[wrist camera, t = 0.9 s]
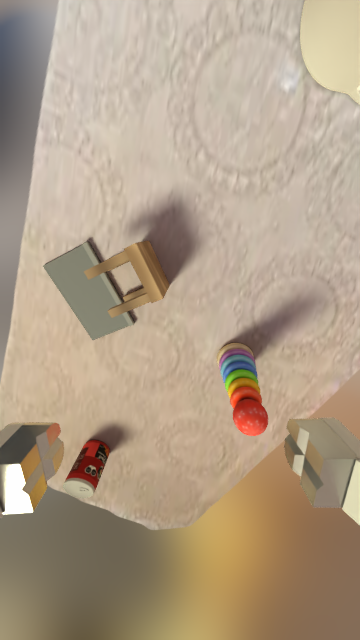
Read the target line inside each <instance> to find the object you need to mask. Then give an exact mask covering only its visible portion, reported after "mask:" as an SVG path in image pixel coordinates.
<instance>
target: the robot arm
mask: <svg viewBox="0 0 360 640" xmlns="http://www.w3.org/2000/svg"><path fill="white" fill-rule="evenodd" d="M300 42H301V50H302V55H303V59H304V62H305V65H306V67H307V69H308V71H309V73H310V74H311V76H312V77H313V78H314V79H315V80H316V81H317V82H318V83H319V84H320V85H321V86H323V87H325V88H327V89H329V90H332V91H337V92H342V93H346V94H348V95H349V96H350V97H351V98H352V99H353V100H354V101H355V102H357V103H358V104H359V105H360V0H305V2H304V6H303V11H302V17H301V26H300ZM287 430H288V431H289V433H290V434H289V435H288V436H287V437H286V438H285V445H284V448H285V454H286V458H287V460H288V463H289V465H290V467H291V468H292V470H293V471H294V472H296V473H297V474H298V475H299V476H301V480H300V485H301V486H302V488H303V490H304V492H305V493H306V495H307V497H308V499H309V501H310V502H311V504H312V506H313V507H330V508H331V507H333V508H343V511H345V512H346V513H347V514H348V515H349V516H350V517H351V518H352V519H353V520H354V521H356V522H357V523H358V524H359V525H360V441H359V440H358V439H357V438H356V437H355V436H354V435H353V434H352V433H351V432H350V431H349V430H348V429H347V428H346V427H345V426H344V425H343V424H342V423H341V422H340V421H339V420H337V419H335V418H318V419H317V418H314V419H290V420H289V421H288V423H287ZM60 432H61V430H60V427H59V424H57V423H40V422H27V423H11V424H9V425H7V426H6V427H5V428H4V429H3V430H2V431H0V518H1V517H2V516H3V514H10V513H29V512H33V511H34V510H35V508H36V506H37V505H38V503H39V501H40V500H41V498H42V496H43V495H44V493H45V491H46V489H47V480H49V479H50V478H51V477H52V476H54V475H55V474H56V472H57V471H58V469H59V467H60V465H61V462H62V459H63V456H64V445H63V442H62V441H61V440H60V439H59V438H58V436H59V434H60Z"/></svg>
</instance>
